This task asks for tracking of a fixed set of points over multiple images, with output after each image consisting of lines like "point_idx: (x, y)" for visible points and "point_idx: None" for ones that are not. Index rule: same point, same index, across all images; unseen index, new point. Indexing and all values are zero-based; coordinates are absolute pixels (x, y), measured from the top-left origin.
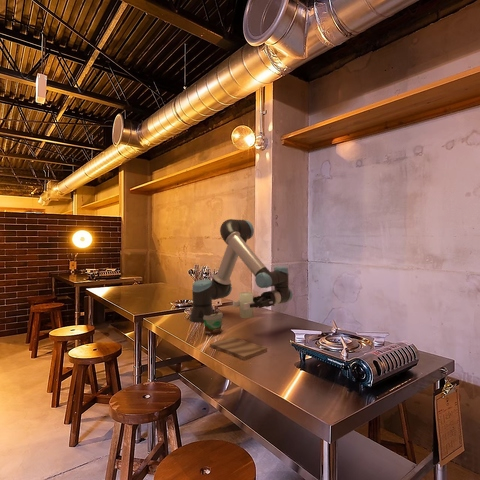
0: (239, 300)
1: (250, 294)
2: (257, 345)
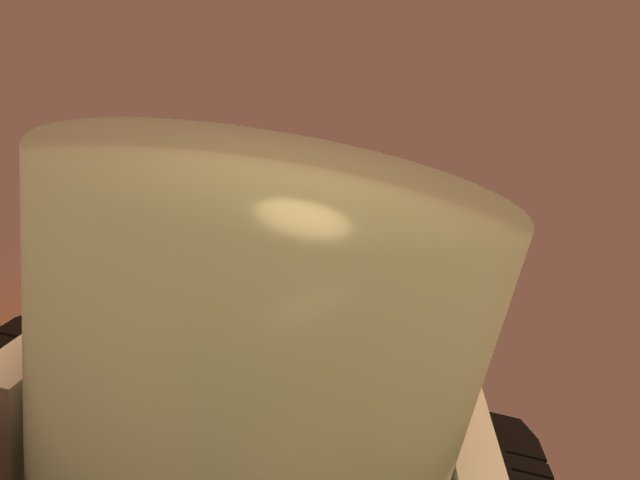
0: None
1: (91, 119)
2: None
